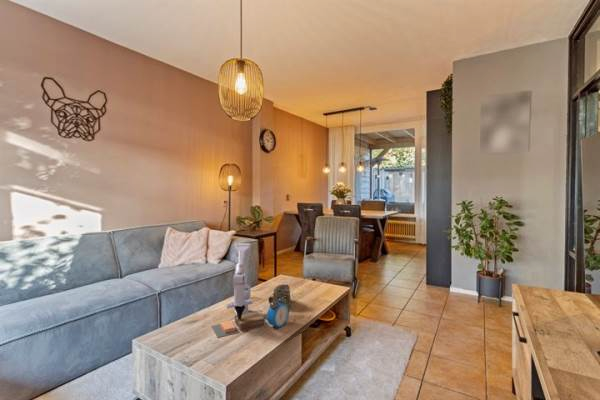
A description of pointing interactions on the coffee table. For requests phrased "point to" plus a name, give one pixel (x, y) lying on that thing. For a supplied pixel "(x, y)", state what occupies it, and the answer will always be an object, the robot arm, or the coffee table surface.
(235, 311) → the robot arm
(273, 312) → the alarm clock
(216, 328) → the mat
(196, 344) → the coffee table surface
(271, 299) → the rock
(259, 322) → the tan flat block
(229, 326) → the peach rectangular block
